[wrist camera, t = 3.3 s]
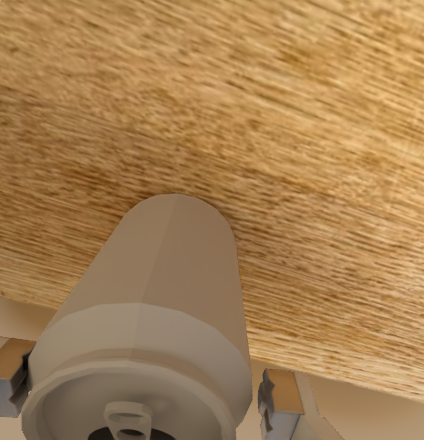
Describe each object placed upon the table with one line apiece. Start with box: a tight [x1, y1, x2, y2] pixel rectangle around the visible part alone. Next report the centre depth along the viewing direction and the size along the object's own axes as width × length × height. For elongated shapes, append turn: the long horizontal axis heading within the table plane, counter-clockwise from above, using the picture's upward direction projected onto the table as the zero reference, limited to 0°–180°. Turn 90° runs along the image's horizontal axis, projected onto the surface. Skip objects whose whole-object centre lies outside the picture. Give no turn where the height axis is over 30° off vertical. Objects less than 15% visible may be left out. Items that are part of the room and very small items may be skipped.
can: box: [22, 193, 252, 440], centre depth 14 cm, size 8×8×12 cm
